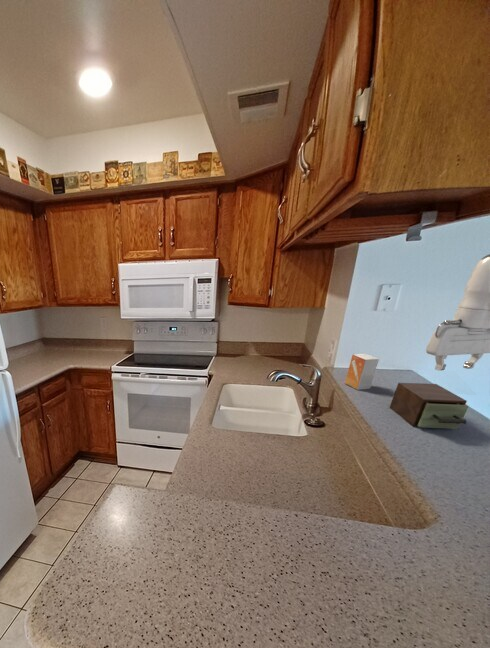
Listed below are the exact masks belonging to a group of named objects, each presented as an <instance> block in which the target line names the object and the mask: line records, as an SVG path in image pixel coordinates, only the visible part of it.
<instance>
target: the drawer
mask: <svg viewBox="0 0 490 648" xmlns="http://www.w3.org/2000/svg"><path fill="white" fill-rule="evenodd" d="M468 409H469V405H467V404H465V405H460V403H446V402H425V404H424V406H423V409H422V411H421V414H420V416H419V419H418V421H417V423H418V426H419V428H426V429H427V428H429V429H430V428H431V429H449V430H451V429H452V430H458V429H459V427H460V426H461V425H466V423H468V422H467V419H465V416H466V414H467V411H468Z"/></svg>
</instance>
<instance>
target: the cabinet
mask: <svg viewBox="0 0 490 648" xmlns="http://www.w3.org/2000/svg"><path fill="white" fill-rule="evenodd" d="M425 402H446V403H460V405H467V402H468V400H467V399H464V398H462V396H461V397H460V396H459V395H457V394H456V393H454V392H451V390H448V389H446V388H444V387H443V386H440V385H439V384H437V383H422V382H421V383H420V382H419V383H417V382H398V383H397V385H396V388H395V391H394V394H393V395H392V399H391V402H390V404H389V408H390V410H392V411H393V412H394V413H396V414H397V415H398V416H400V417H401V418H402V419H403V420H404V421H405V422H406V423H408V424H409V425H410V426H411V427H415V428H416V427H417V428H418V427H419V426H418V423H417V421H418V419H419V416H420V414H421V411H422V409H423V406H424V404H425ZM419 428H420V427H419Z"/></svg>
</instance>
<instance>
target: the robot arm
mask: <svg viewBox="0 0 490 648" xmlns="http://www.w3.org/2000/svg"><path fill="white" fill-rule="evenodd" d="M425 352H426V354H428V355H431V356H434V358H435V363H436V364H435V366H434V370H436V371H444V370H446V367H447V364H446V363H445V360H447V357H448V356H461V355H470V357H469V358H468V360H467V361H464V363H463V365H462V368H463V369H467V370H469V369H470V370H471V369H473V368H474V367H475V365H476V363H477V362H478V361H480V360H481V358H482V357H483V356H484V354H490V254H486V255H485V256H483V257H482V258H480V259H479V261H478V262H477V264H476V265H475V266H474V268H473V270H472V272H471V274H470V276H469V278H468V281H467V283H466V286H465V288H464V295H463V298H462V300H461V301H460V302H459V304H458V305H457V309H456V311H455V313H454V316H453V319H452V320H449V319H446V320H444V321H443V322H441V323H440V324H439V325H437V327H436V329H435V330H434V332H433V333H432V335H431V336H430V339H429V341H428V342H427V345H426V347H425Z"/></svg>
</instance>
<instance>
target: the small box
mask: <svg viewBox="0 0 490 648" xmlns="http://www.w3.org/2000/svg"><path fill="white" fill-rule="evenodd" d="M379 361H380V358H378V357H375V356H373V355H370V354H367V353H354V354H352V356H351V359H350V362H349V365H348V369H347V372H346V373H347V374H346V378H345V381H344V384H346V385H348V386H350V387H351V388H353V389H355V390H357V391H359V390H370V389H371V386H372V383H373V380H374V377H375V374H376V370H377V367H378V364H379Z"/></svg>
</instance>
